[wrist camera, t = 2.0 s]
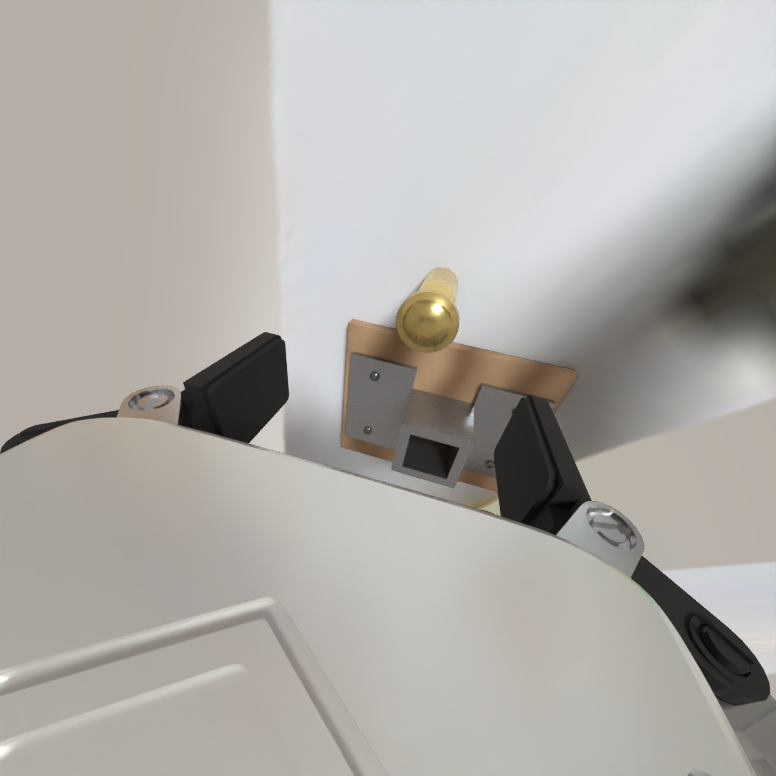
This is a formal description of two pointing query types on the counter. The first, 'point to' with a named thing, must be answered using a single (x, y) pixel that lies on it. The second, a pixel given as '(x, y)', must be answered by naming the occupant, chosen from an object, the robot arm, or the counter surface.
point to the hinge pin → (430, 313)
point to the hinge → (426, 421)
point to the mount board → (452, 378)
